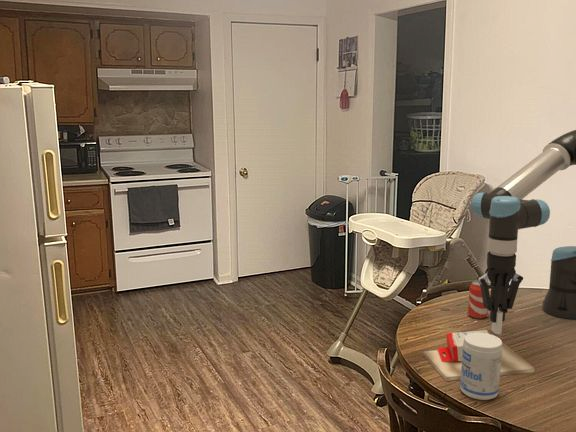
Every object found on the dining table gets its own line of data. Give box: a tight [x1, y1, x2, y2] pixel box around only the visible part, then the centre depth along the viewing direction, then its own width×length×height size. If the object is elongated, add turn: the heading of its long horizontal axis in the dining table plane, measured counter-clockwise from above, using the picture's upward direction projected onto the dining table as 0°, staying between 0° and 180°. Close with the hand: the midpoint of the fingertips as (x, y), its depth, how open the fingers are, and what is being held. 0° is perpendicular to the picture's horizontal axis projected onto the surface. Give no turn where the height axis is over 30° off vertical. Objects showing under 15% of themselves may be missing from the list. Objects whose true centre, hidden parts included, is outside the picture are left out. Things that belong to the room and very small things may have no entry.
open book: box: [422, 343, 536, 382], centre depth 166 cm, size 26×16×2 cm, turn 99°
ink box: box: [437, 329, 490, 362], centre depth 167 cm, size 8×5×15 cm
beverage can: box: [467, 280, 489, 320], centre depth 199 cm, size 6×6×12 cm
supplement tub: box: [459, 332, 503, 401], centre depth 149 cm, size 10×10×15 cm
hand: (496, 332), depth 165 cm, fingers closed
